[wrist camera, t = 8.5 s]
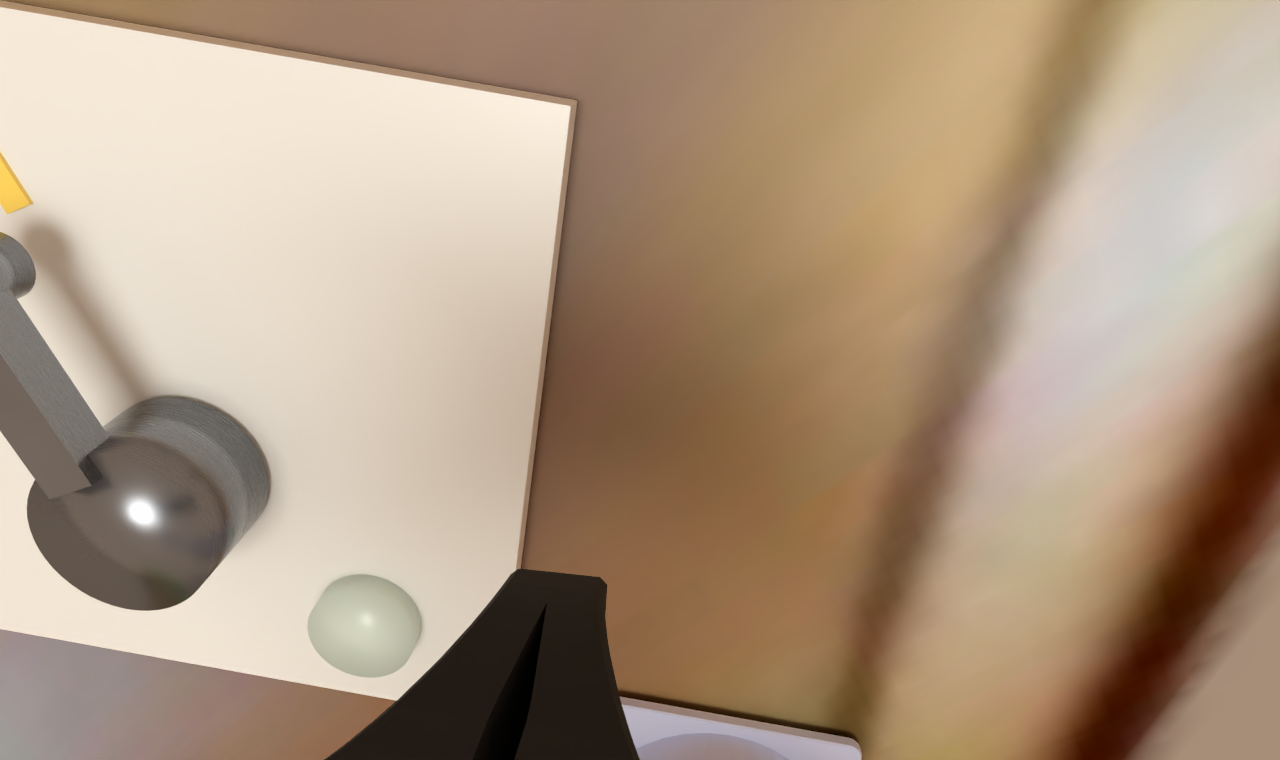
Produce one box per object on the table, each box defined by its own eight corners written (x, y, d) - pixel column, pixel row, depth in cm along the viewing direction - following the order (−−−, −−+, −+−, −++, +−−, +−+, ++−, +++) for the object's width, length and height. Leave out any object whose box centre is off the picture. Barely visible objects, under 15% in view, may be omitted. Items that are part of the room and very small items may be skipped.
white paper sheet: (505, 694, 28) (492, 739, 26) (2, 603, 28) (-43, 642, 26) (577, 100, 20) (564, 111, 18) (-114, -20, 20) (-187, -20, 19)
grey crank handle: (298, 517, 24) (236, 596, 21) (164, 557, 25) (86, 638, 22) (98, 185, 21) (-12, 222, 18) (-48, 246, 22) (-177, 291, 18)
